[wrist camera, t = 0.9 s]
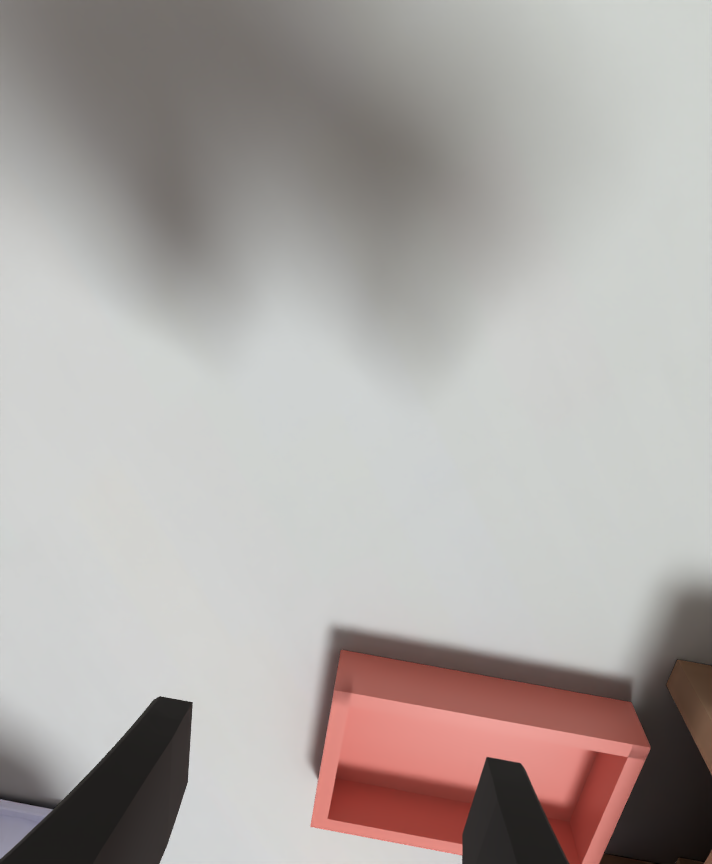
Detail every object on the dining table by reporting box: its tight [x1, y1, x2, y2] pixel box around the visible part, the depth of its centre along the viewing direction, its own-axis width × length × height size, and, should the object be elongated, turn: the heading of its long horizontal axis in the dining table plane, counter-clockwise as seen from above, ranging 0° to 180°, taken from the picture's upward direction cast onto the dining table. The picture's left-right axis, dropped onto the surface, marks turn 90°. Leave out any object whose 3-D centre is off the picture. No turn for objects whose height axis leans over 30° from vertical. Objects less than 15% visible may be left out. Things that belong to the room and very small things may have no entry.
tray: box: [310, 650, 651, 864], centre depth 24 cm, size 7×11×2 cm, turn 82°
